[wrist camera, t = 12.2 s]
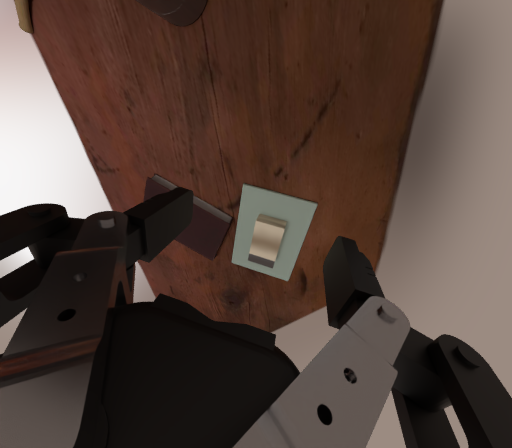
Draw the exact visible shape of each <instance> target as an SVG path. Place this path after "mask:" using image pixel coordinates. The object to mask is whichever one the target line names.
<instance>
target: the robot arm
mask: <svg viewBox="0 0 512 448" xmlns="http://www.w3.org/2000/svg"><path fill="white" fill-rule="evenodd" d="M136 1H137V2H139V3H140V4H142V5H144V6H145V7H147V8H148V9H150V10H151V11H153V12H154V13H156V14H157V15H159V16H160V17H162V18H164V19H165V20H167V21H168V22H170V23H172V24H174V25H177V26H187V25H189V24H191V23H193V22H194V21H195V20H196V19H198V17H199V16H200V15H201V13H202V12H203V9H204V7H205V5H206V2H207V0H136ZM193 197H194V195H193V191H192V190H188V189H185V188H182V187H176V188H174V189H173V190H171V191H169V192H166V193H161V194H157V195H155V196H153V197H152V198H150V199H148V200H146V201H144V203H140V204H138V205H137V206H135V207H133V208H131V209H129V210H127V211H125V212H123V213H121V212H117V211H104V212H98V213H95V214H92V215H90V216H89V217H87V218H86V219H79V218H69V217H68V214H67V212H66V209H65V207H63V206H61V205H58V204H36V205H31V206H27V207H24V208H21V209H18V210H15V211H12V212H9V213H7V214H4V215H1V216H0V260H2V259H4V258H6V257H8V256H10V255H12V254H14V253H16V252H18V251H20V250H22V249H24V248H26V247H29V249H30V251H31V253H32V255H33V257H34V260H32V261H30V262H28V263H26V264H25V265H23V266H21V267H19V268H18V269H16V270H14V271H12V272H11V273H9V274H7V275H5V276H4V277H2V278H0V327H2V326H3V325H4V324H6V323H7V322H8V321H10V320H11V319H13V318H14V317H15V316H17V315H18V314H19V313H20V312H22V311H23V310H25V309H26V308H27V307H28V308H27V310H26V312H25V314H24V316H23V317H22V319H21V321H20V323H19V325H18V327H17V329H16V331H15V333H14V335H13V337H12V339H11V341H10V342H9V344H8V346H7V348H6V350H5V352H4V353H3V354H0V448H366V445H367V443H368V441H369V439H370V436H371V434H372V432H373V429H374V427H375V425H376V422H377V420H378V418H379V416H380V413H381V411H382V409H383V407H384V404H385V402H386V399H387V397H388V395H389V392H390V391H392V394H393V398H394V402H395V406H396V410H397V414H398V418H399V421H400V425H401V429H402V433H403V437H404V441H405V445H406V448H460V446H459V444H458V442H457V439H456V437H455V435H454V432H453V430H452V427H451V425H450V423H449V420H448V418H447V415H446V413H445V411H444V408H446V407H448V406H450V405H452V406H453V408H454V411H455V412H456V415H457V417H458V419H459V422H460V424H461V426H462V428H463V430H464V433H465V435H466V437H467V440H468V445H469V448H512V398H511V396H510V395H509V393H508V392H507V391H506V389H505V388H504V386H503V385H502V383H501V382H500V380H499V379H498V377H497V376H496V374H495V373H494V371H493V370H492V369H491V367H490V366H489V364H488V363H487V362H486V361H485V360H484V358H483V357H481V355H480V354H479V353H477V352H476V351H475V350H474V349H473V348H472V347H470V346H469V345H468V344H466V343H465V342H463V341H462V340H460V339H458V338H456V337H454V336H451V335H446V334H444V335H441V336H439V337H438V338H437V339H435V340H432V339H430V338H429V337H426V336H425V335H423V334H422V333H420V332H418V331H416V330H414V329H413V328H411V327H410V323H409V320H408V318H407V317H406V316H405V314H404V313H403V312H402V311H401V310H400V309H399V308H398V307H397V306H396V305H395V304H393V303H392V302H390V301H389V300H387V299H385V297H384V294H383V292H382V290H381V287H380V285H379V282H378V280H377V278H376V277H375V276H376V275H375V273H374V271H373V268H372V266H371V263H370V261H369V260H368V259H367V258H366V256H365V255H364V254H363V253H361V252H359V250H358V247H357V245H356V242H355V241H354V240H351V239H348V238H345V237H342V236H338V237H337V238H336V240H335V242H334V244H333V246H332V247H331V249H330V251H329V253H328V255H327V257H326V259H325V261H324V265H323V274H324V284H325V294H326V303H327V313H328V323H329V326H332V327H334V328H337V329H339V331H338V332H337V333H336V334H335V336H333V338H332V339H331V340H330V341H329V342H328V343H327V344H326V346H325V347H324V348H323V349H322V350H321V351H320V352H319V353H318V354H317V355H316V357H315V358H314V359H313V360H312V361H311V362H310V363H309V364H308V366H307V367H306V368H305V369H304V370H303V371H302V372H301V373H300V372H299V370H298V369H297V367H296V366H295V365H294V363H293V362H292V361H291V360H290V359H289V358H288V356H287V355H286V354H285V353H284V352H282V351H281V350H280V349H279V348H278V347H276V346H275V338H276V335H275V334H272V333H270V332H267V331H264V330H261V329H259V328H256V327H253V326H250V325H247V324H239V323H228V322H217V321H213V320H211V319H209V318H208V317H207V316H205V315H204V314H202V313H201V312H199V311H198V310H197V309H195V308H194V307H192V306H191V305H190V304H188V303H186V302H183V301H180V300H178V299H175V298H172V297H169V296H166V295H164V294H161V293H160V294H159V295H158V297H157V298H156V299H155V300H154V302H137V303H133V294H134V281H135V262H136V261H137V260H139V259H140V260H143V261H146V262H150V261H151V260H152V259H153V258H155V257H156V256H157V255H158V254H159V253H160V252H161V251H162V250H163V249H164V248H165V247H166V246H167V245H168V244H170V243H171V242H172V241H173V240H174V239H175V238H176V237H177V236H178V235H179V234H180V233H181V232H182V231H183V230H184V229H186V228H187V227H188V226H189V224H190V223H191V220H192V216H193Z"/></svg>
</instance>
